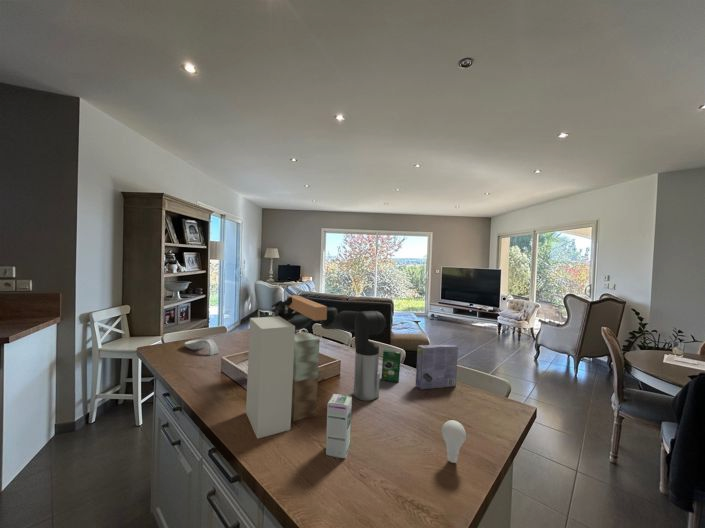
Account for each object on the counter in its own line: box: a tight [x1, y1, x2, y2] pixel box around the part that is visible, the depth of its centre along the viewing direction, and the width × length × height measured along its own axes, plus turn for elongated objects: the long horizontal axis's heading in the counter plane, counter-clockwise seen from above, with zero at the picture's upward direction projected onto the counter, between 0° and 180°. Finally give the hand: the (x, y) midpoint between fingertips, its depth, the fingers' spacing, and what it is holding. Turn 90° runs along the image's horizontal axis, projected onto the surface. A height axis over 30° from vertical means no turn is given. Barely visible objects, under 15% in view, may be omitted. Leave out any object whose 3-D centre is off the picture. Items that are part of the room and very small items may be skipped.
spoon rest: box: [184, 338, 219, 356], centre depth 159 cm, size 24×12×7 cm, turn 57°
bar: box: [286, 294, 328, 322], centre depth 100 cm, size 26×4×4 cm, turn 31°
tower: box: [291, 333, 321, 422], centre depth 100 cm, size 8×8×26 cm
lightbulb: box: [441, 419, 467, 464], centre depth 79 cm, size 6×6×11 cm
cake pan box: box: [415, 344, 459, 390], centre depth 127 cm, size 19×5×18 cm, turn 108°
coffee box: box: [380, 349, 402, 383], centre depth 131 cm, size 8×3×13 cm, turn 79°
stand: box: [245, 316, 296, 439], centre depth 94 cm, size 10×16×32 cm, turn 31°
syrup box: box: [325, 393, 353, 460], centre depth 81 cm, size 6×6×14 cm
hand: (297, 299), depth 106 cm, fingers closed on bar, 4 cm apart
